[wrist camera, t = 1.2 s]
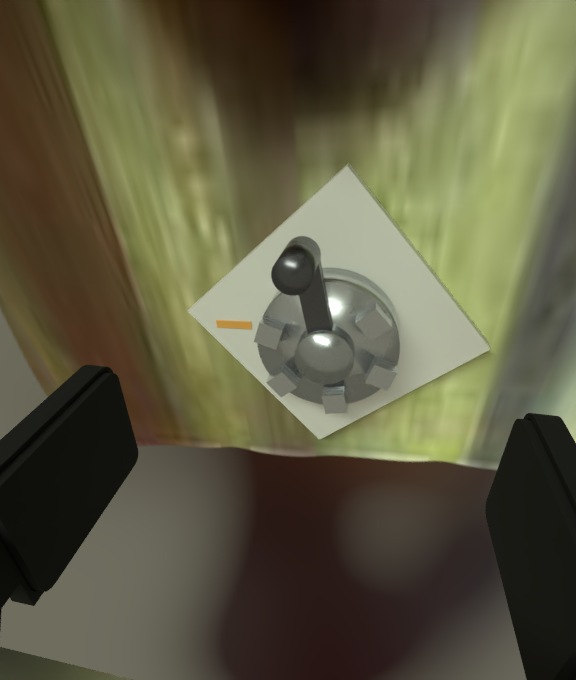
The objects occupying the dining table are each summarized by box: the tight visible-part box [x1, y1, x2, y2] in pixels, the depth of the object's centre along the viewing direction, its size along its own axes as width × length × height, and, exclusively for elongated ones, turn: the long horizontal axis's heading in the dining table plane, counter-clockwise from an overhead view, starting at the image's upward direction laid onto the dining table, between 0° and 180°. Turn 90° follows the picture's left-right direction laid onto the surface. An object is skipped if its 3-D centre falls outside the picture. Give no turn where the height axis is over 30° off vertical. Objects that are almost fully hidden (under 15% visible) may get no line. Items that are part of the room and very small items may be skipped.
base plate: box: [188, 163, 491, 440], centre depth 35 cm, size 18×18×2 cm
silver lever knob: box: [254, 236, 400, 414], centre depth 30 cm, size 15×11×8 cm
